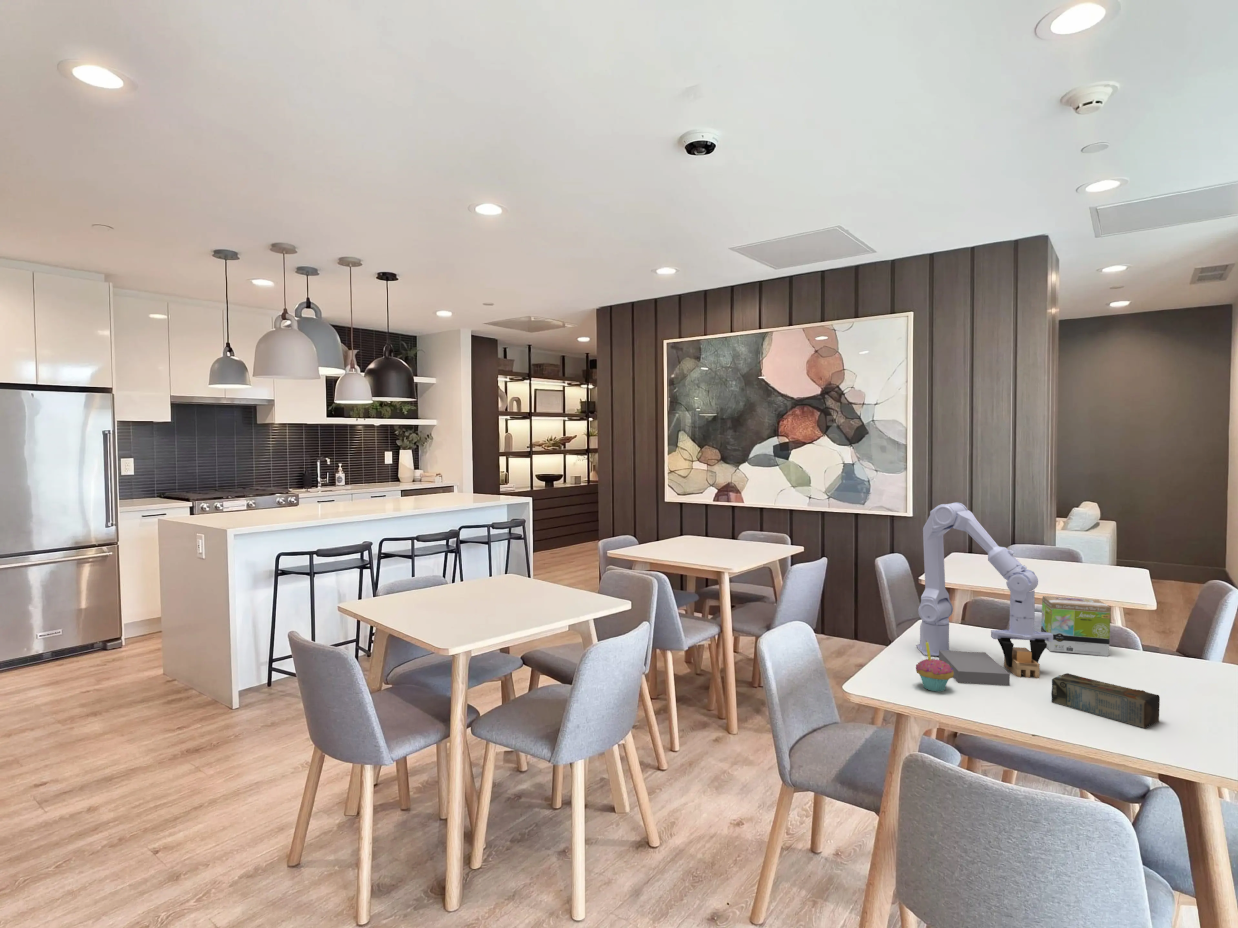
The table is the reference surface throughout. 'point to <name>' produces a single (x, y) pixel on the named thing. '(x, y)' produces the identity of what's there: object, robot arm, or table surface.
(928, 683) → the cupcake
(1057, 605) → the tea box
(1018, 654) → the light brown block
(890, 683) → the table surface
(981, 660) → the dock
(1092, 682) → the beverage carton
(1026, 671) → the pallet
